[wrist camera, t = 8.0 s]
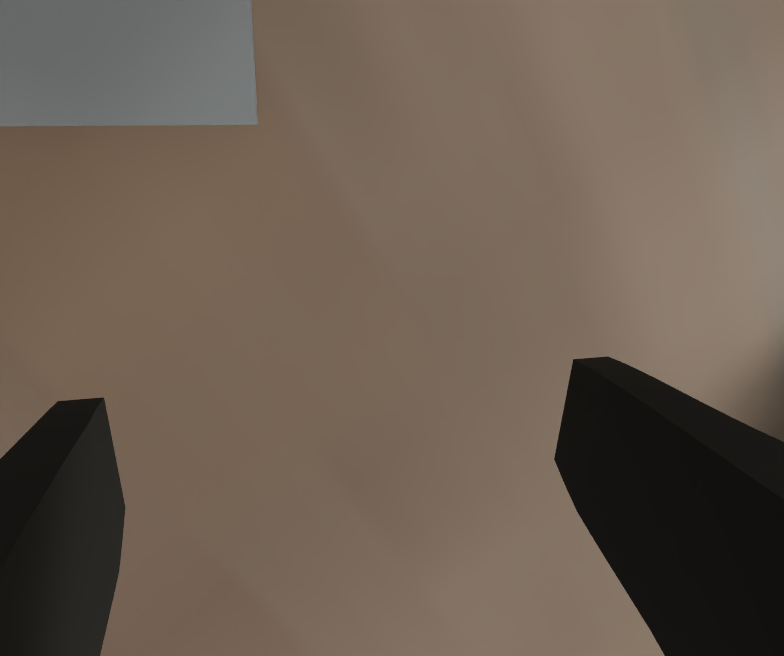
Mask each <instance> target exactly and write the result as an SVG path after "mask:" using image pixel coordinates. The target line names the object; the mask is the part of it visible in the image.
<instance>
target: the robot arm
mask: <svg viewBox="0 0 784 656" xmlns="http://www.w3.org/2000/svg"><path fill="white" fill-rule="evenodd" d="M554 460H555V462H556V464H557V467H558V469H559V472H560V474H561V476H562V479H563V481H564V484H565V486H566V488H567V490H568V493H569V495H570V497H571V499H572V501H573V503H574V506H575V508H576V510H577V512H578V514H579V515H580V517H581V519H582V520H583V522H584V524H585V526H586V527H587V529H588V530H589V532H590V534H591V535H592V537H593V539H594V540H595V542H596V544H597V545H598V547H599V548H600V550H601V552H602V553H603V555H604V557H605V558H606V560H607V561H608V563H609V565H610V566H611V568H612V569H613V571H614V573H615V574H616V576H617V577H618V579H619V581H620V582H621V584H622V585H623V587H624V589H625V590H626V592H627V593H628V595H629V597H630V598H631V600H632V601H633V603H634V605H635V606H636V608H637V609H638V611H639V613H640V614H641V616H642V617H643V619H644V621H645V622H646V624H647V625H648V627H649V629H650V630H651V632H652V634H653V636H654V637H655V639H656V641H657V643H658V644H659V646H660V648H661V650H662V651H663V653H664V655H665V656H784V442H782V441H780V440H778V439H776V438H774V437H771V436H769V435H767V434H765V433H763V432H761V431H758V430H756V429H754V428H752V427H750V426H748V425H746V424H744V423H742V422H740V421H738V420H736V419H734V418H732V417H730V416H728V415H726V414H724V413H722V412H720V411H718V410H716V409H714V408H712V407H710V406H708V405H706V404H704V403H702V402H700V401H698V400H696V399H694V398H692V397H691V396H689V395H687V394H685V393H683V392H681V391H679V390H677V389H675V388H673V387H671V386H669V385H667V384H665V383H663V382H661V381H660V380H658V379H656V378H654V377H652V376H650V375H648V374H646V373H644V372H642V371H640V370H637V369H635V368H633V367H631V366H629V365H627V364H625V363H622V362H620V361H617V360H615V359H612V358H610V357H597V358H585V359H573V364H572V369H571V374H570V380H569V385H568V390H567V395H566V401H565V406H564V411H563V416H562V421H561V427H560V432H559V437H558V442H557V448H556V453H555V458H554ZM124 515H125V504H124V498H123V493H122V488H121V483H120V478H119V473H118V467H117V462H116V457H115V452H114V447H113V442H112V437H111V431H110V426H109V421H108V416H107V411H106V406H105V400H104V398H92V399H80V400H68V401H58V402H57V403H56V404H55V405H54V406H53V407H51V408H50V409H49V410H48V411H47V412H46V413H45V414H44V415H43V416H42V417H41V418H40V419H39V421H38V422H37V423H36V424H35V425H34V426H33V427H32V428H31V429H30V430H29V431H28V432H27V433H26V434H25V435H24V436H23V437H22V438H21V439H20V440H19V441H18V442H17V443H16V444H15V445H14V446H13V447H12V448H11V449H10V450H9V451H8V452H7V453H6V454H5V455H4V456H3V457H2V458H1V459H0V656H100V653H101V649H102V645H103V640H104V636H105V632H106V627H107V623H108V619H109V614H110V610H111V605H112V601H113V596H114V592H115V588H116V583H117V578H118V574H119V567H120V557H121V548H122V538H123V527H124Z"/></svg>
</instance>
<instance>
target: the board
mask: <svg viewBox="0 0 784 656" xmlns="http://www.w3.org/2000/svg"><path fill="white" fill-rule="evenodd" d="M124 125H258V120H257V102H256V83H255V64H254V46H253V27H252V8H251V0H0V126H124Z"/></svg>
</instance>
